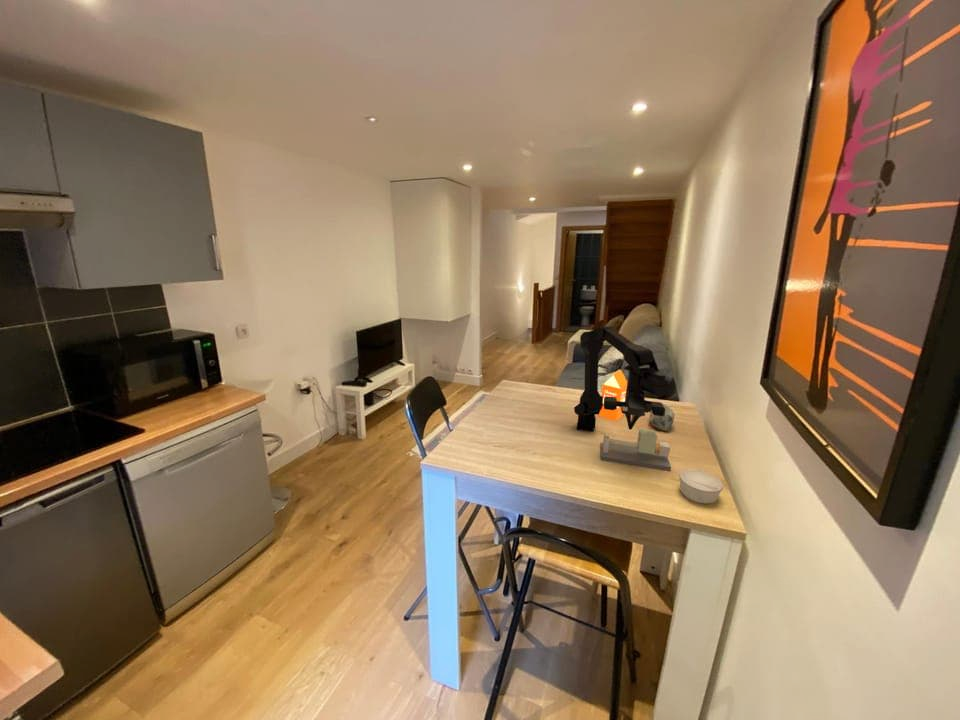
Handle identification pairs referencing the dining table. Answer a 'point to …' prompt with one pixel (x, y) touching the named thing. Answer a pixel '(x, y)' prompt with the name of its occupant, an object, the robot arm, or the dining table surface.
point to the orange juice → (614, 394)
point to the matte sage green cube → (647, 441)
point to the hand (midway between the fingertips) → (630, 429)
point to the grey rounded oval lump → (663, 419)
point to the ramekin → (700, 486)
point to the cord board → (634, 454)
